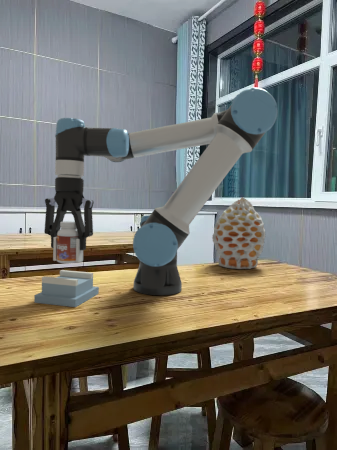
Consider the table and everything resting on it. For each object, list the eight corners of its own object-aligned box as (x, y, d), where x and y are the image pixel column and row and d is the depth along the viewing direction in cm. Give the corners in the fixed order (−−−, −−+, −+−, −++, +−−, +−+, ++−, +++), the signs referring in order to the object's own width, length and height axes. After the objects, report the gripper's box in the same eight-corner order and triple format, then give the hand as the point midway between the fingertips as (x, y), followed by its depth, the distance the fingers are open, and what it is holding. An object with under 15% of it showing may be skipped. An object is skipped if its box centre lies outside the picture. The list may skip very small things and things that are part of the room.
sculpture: (253, 274, 142) (257, 197, 140) (202, 267, 154) (205, 195, 152) (269, 266, 160) (273, 198, 158) (223, 260, 172) (226, 196, 170)
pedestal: (98, 293, 107) (98, 271, 107) (75, 307, 94) (76, 282, 93) (61, 289, 110) (62, 268, 110) (34, 302, 97) (34, 278, 96)
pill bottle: (52, 261, 101) (52, 221, 100) (71, 259, 106) (71, 220, 105) (65, 264, 97) (65, 223, 96) (84, 262, 102) (84, 222, 101)
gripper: (107, 178, 101) (105, 261, 103) (46, 177, 105) (45, 256, 107) (96, 177, 94) (94, 265, 95) (30, 175, 98) (29, 260, 100)
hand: (68, 260), depth 101 cm, fingers closed on pill bottle, 6 cm apart
